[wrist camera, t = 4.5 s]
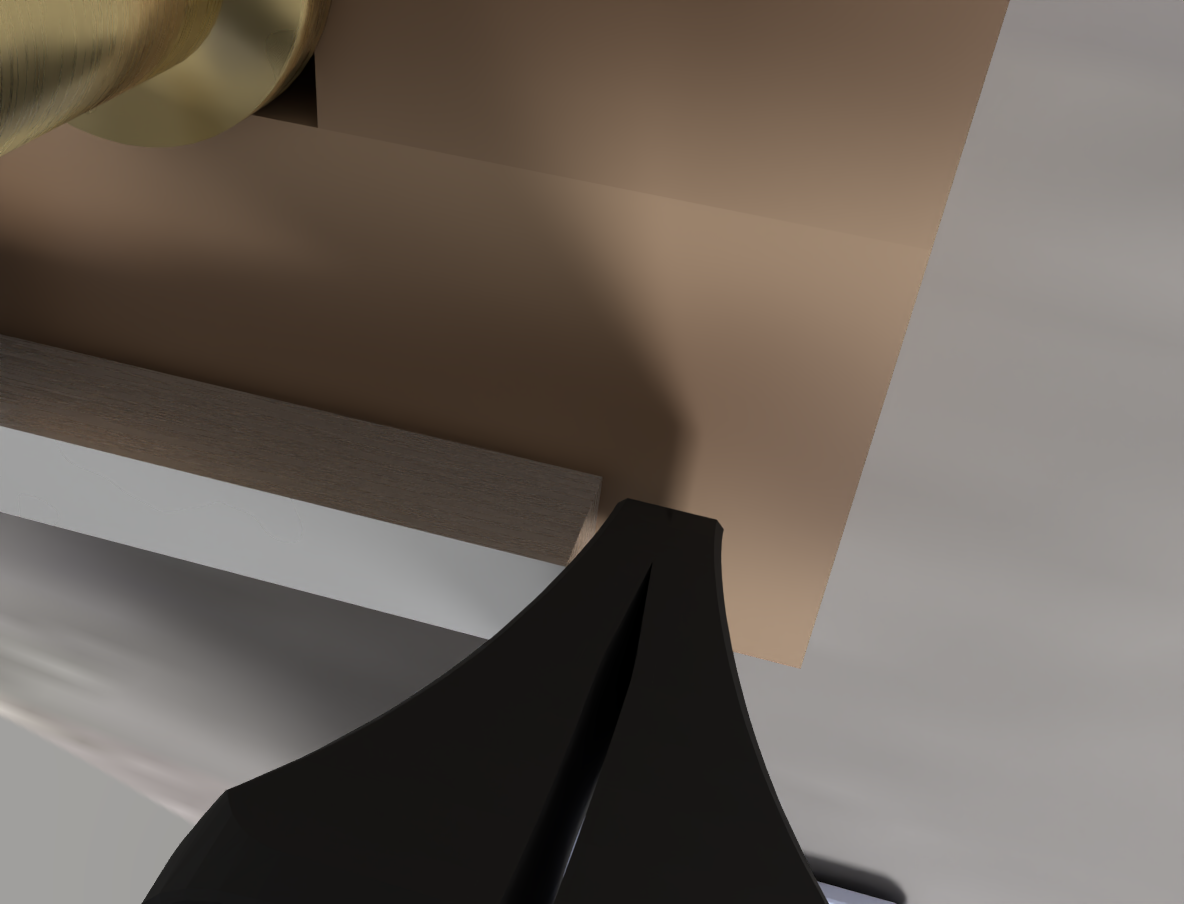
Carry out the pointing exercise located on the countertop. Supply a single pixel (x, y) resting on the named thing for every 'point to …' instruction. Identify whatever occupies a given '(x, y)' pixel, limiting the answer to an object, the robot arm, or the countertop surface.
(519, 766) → the robot arm
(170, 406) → the bar
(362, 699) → the countertop surface
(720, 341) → the socket block
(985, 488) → the countertop surface
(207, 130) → the peg
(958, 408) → the countertop surface
